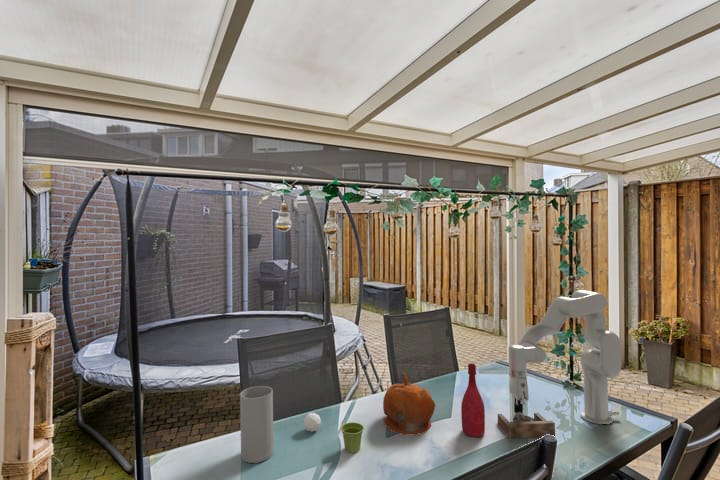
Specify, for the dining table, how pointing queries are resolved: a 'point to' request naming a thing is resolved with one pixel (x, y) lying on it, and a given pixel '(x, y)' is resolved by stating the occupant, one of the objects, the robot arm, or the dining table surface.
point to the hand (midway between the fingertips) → (518, 412)
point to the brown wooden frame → (527, 427)
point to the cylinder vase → (256, 424)
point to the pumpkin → (408, 408)
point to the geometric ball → (312, 422)
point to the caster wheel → (522, 418)
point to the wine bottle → (472, 407)
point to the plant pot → (352, 436)
